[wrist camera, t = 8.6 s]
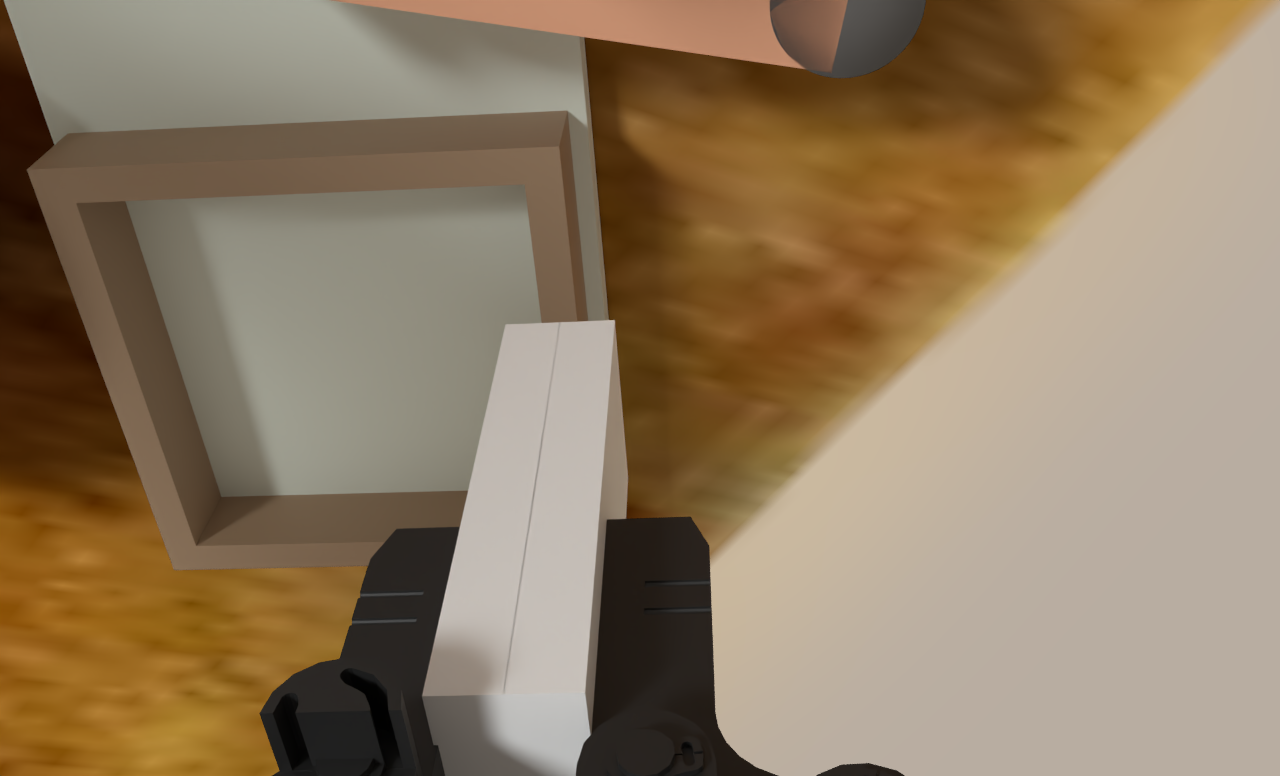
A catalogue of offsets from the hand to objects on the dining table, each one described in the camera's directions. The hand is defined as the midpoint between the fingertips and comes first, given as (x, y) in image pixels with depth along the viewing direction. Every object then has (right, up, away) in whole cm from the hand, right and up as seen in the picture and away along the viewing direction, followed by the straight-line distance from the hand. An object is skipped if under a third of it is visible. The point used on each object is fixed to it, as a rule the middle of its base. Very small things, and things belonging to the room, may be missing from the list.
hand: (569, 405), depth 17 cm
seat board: (-8, +7, +18) cm, 21 cm away
